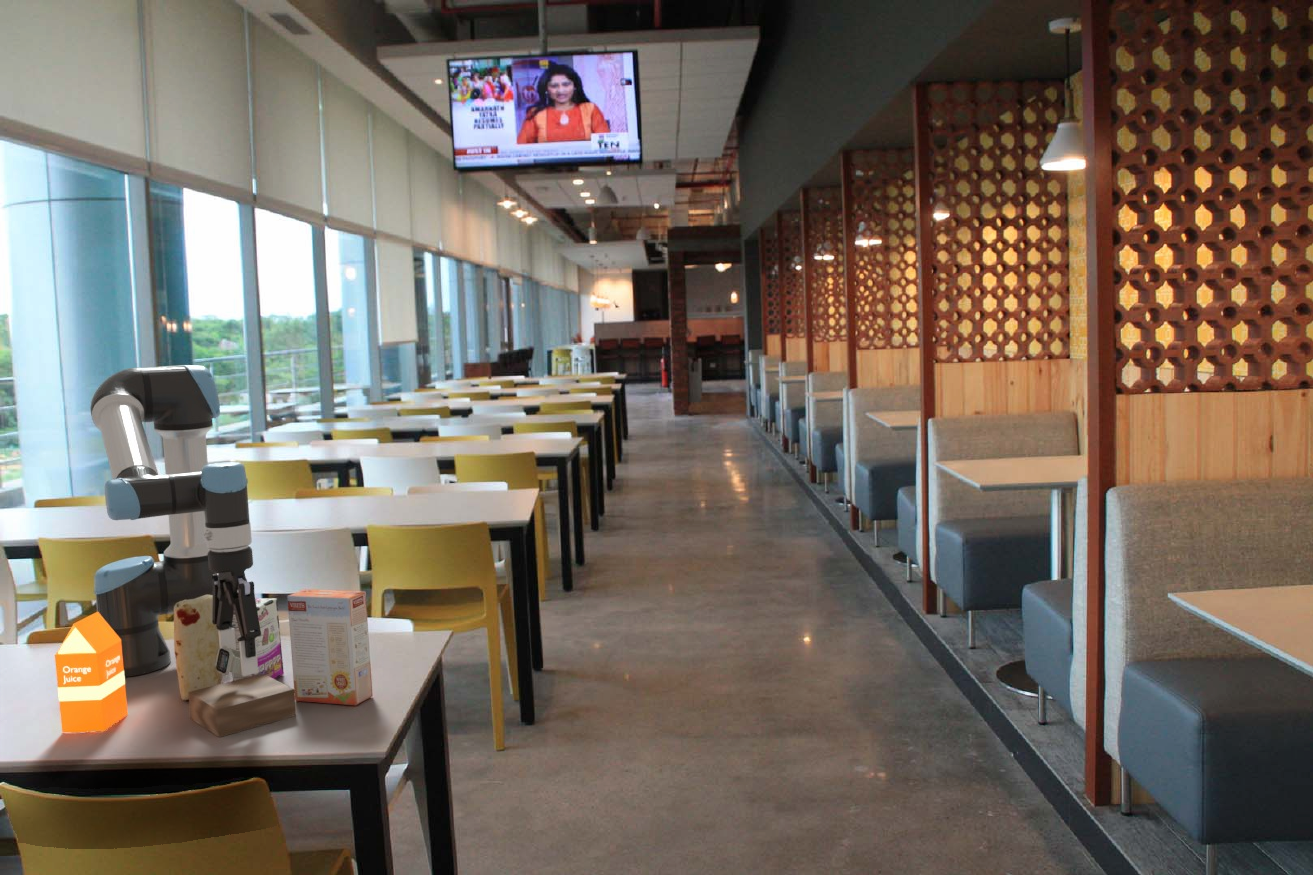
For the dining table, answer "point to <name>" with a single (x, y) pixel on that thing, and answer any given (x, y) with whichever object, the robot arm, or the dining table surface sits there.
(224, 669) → the wristwatch
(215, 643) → the food model
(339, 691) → the cracker box
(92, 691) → the orange juice
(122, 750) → the dining table surface
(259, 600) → the candy bar box
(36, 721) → the dining table surface
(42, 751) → the dining table surface
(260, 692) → the walnut base
